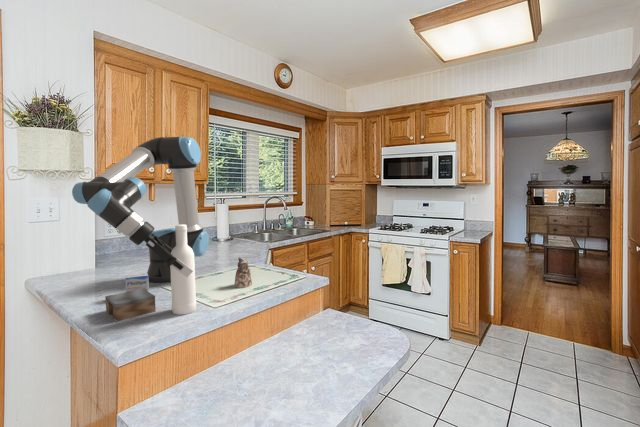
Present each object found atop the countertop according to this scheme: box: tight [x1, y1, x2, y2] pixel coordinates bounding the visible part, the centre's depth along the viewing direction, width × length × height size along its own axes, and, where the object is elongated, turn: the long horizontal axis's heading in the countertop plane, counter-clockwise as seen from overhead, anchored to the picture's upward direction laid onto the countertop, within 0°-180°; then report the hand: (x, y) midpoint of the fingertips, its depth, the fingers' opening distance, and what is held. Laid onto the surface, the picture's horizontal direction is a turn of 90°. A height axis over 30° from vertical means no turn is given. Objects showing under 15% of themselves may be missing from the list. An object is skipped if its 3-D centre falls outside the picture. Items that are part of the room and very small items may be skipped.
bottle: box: [170, 224, 197, 316], centre depth 117 cm, size 8×8×30 cm
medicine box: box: [124, 273, 150, 293], centre depth 133 cm, size 8×4×9 cm, turn 118°
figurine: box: [234, 257, 253, 289], centre depth 147 cm, size 7×7×12 cm
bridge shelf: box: [104, 289, 157, 322], centre depth 117 cm, size 12×12×6 cm
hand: (188, 269), depth 117 cm, fingers open, 13 cm apart
